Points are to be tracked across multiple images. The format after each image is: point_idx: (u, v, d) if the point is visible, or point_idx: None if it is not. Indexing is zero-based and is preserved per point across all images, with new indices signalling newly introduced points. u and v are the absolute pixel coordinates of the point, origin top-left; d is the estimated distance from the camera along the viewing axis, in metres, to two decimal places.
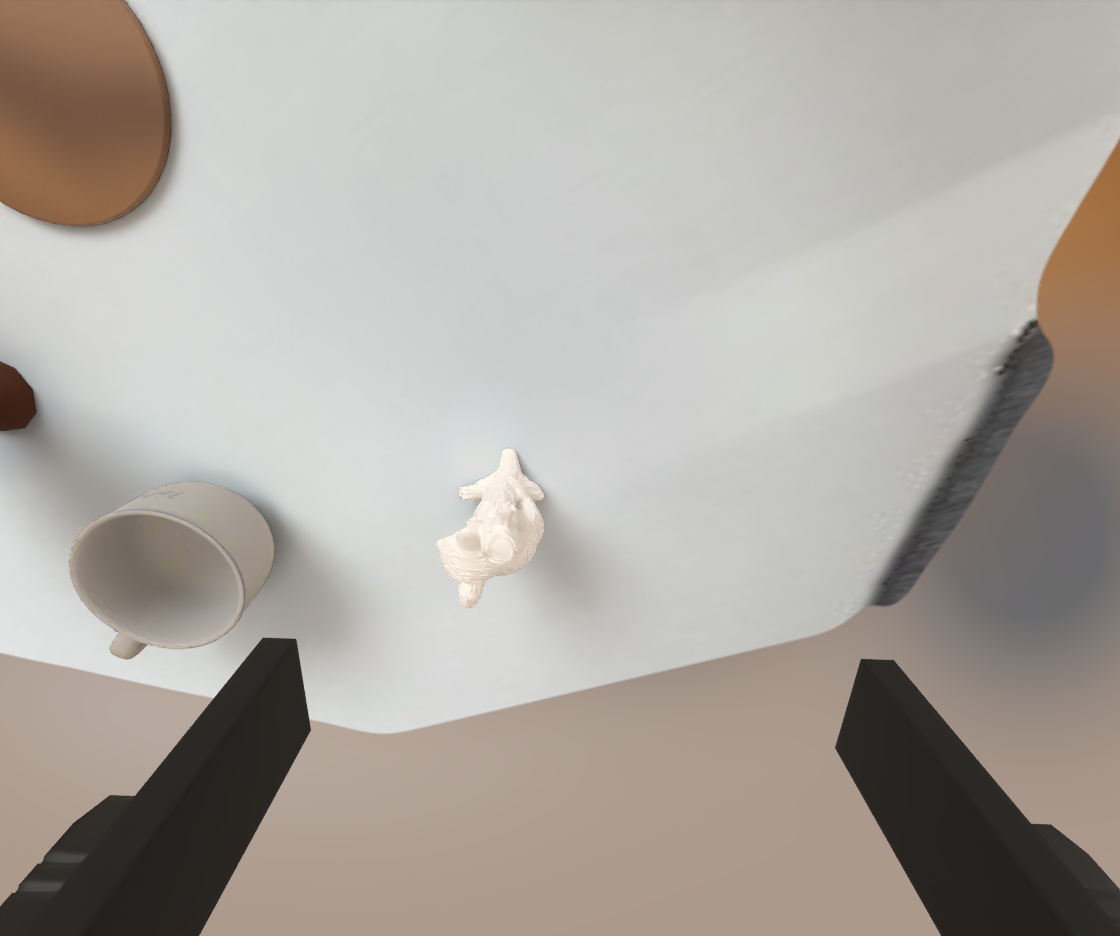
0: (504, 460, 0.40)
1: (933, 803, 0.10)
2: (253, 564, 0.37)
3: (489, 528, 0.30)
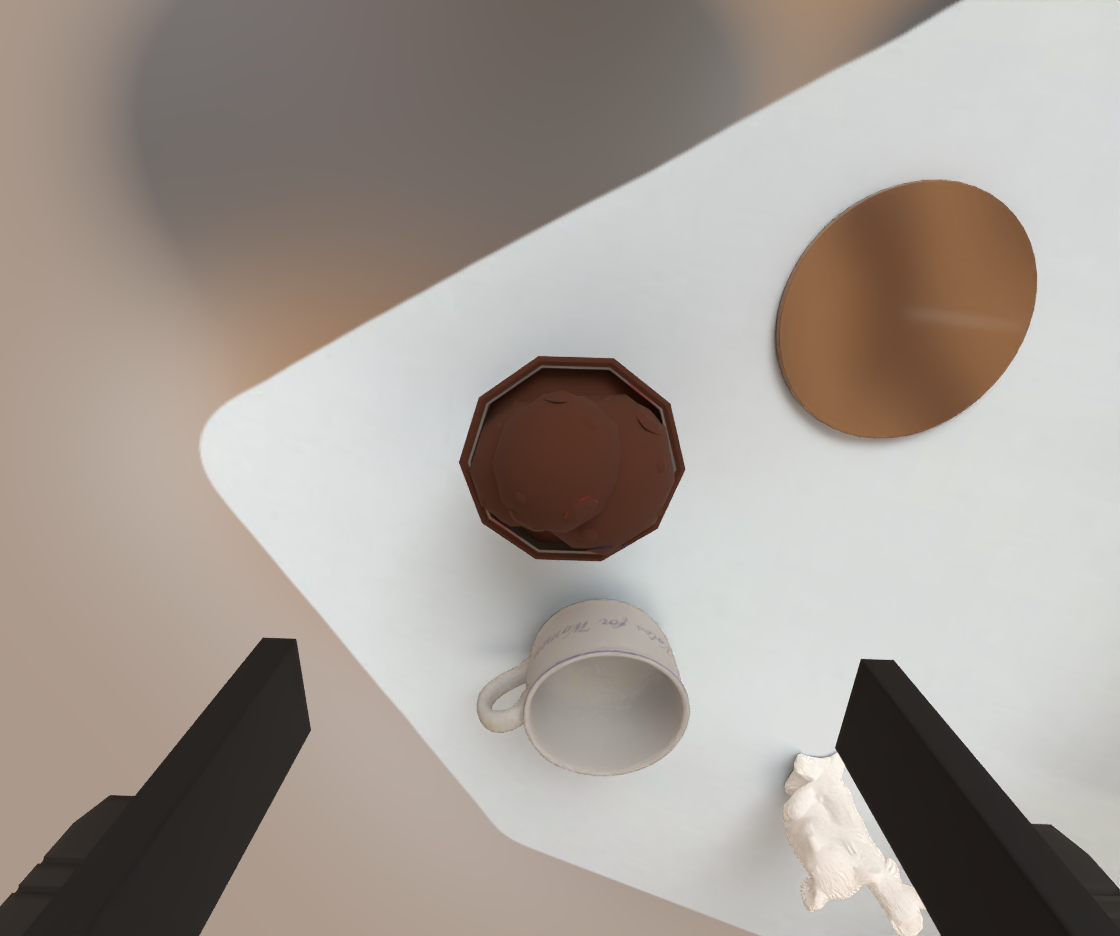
0: (840, 763, 0.45)
1: (933, 803, 0.10)
2: None
3: (906, 899, 0.35)
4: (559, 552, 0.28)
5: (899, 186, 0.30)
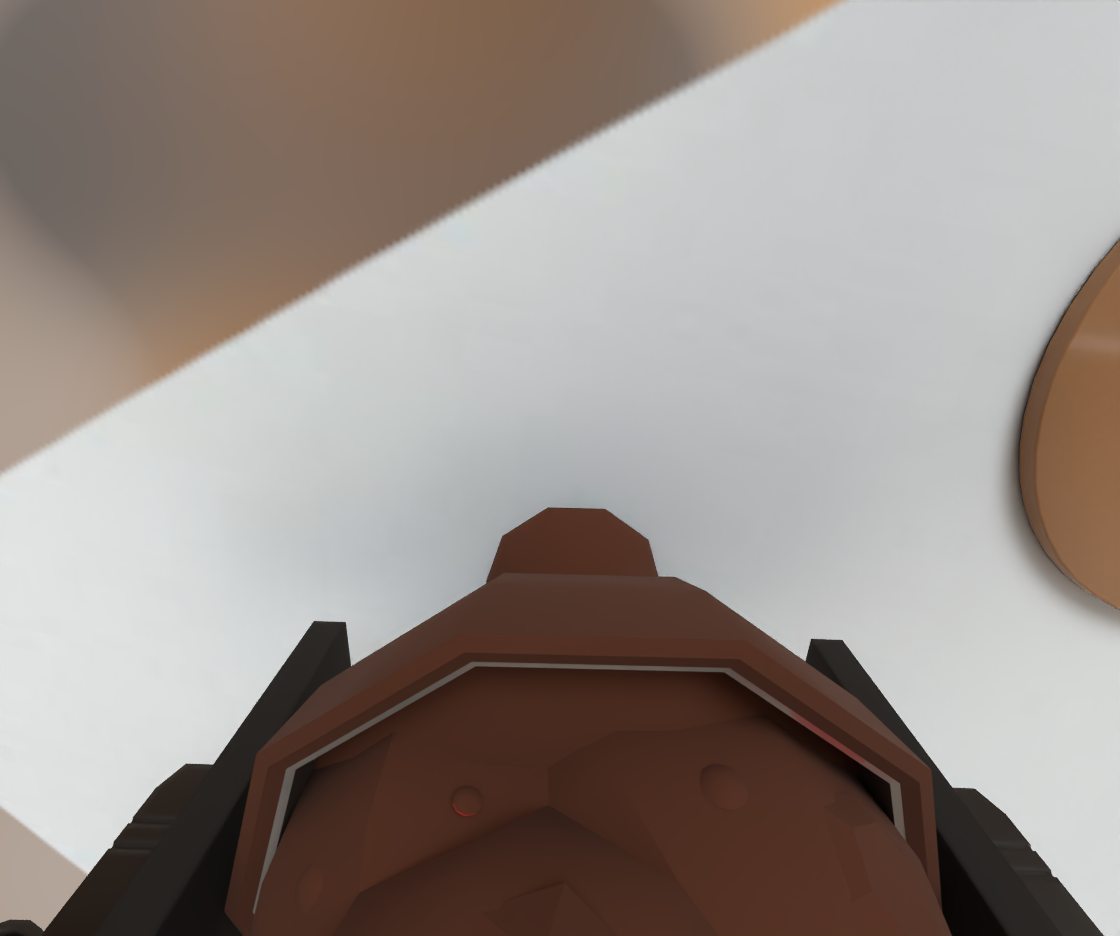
0: None
1: None
2: None
3: None
4: None
5: None
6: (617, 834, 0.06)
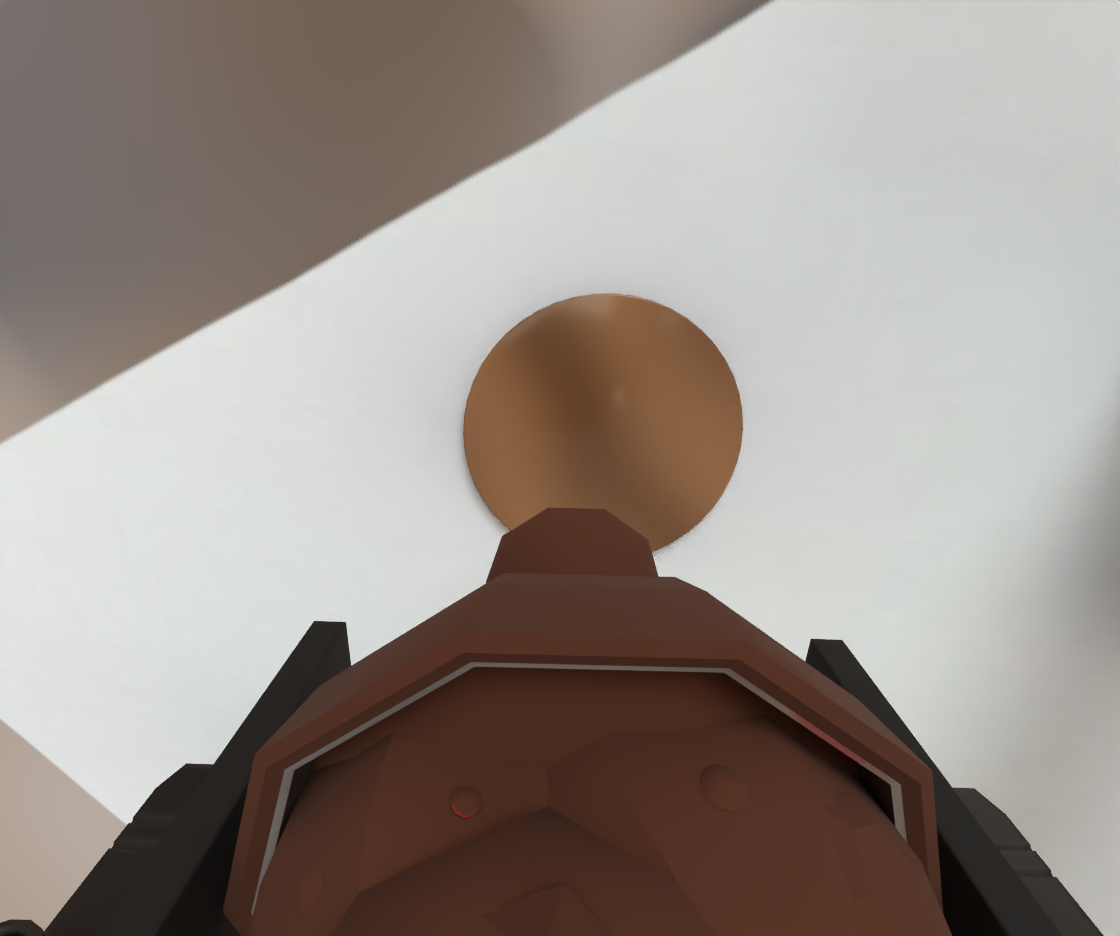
0: None
1: None
2: None
3: None
4: None
5: (567, 301, 0.26)
6: (617, 835, 0.06)
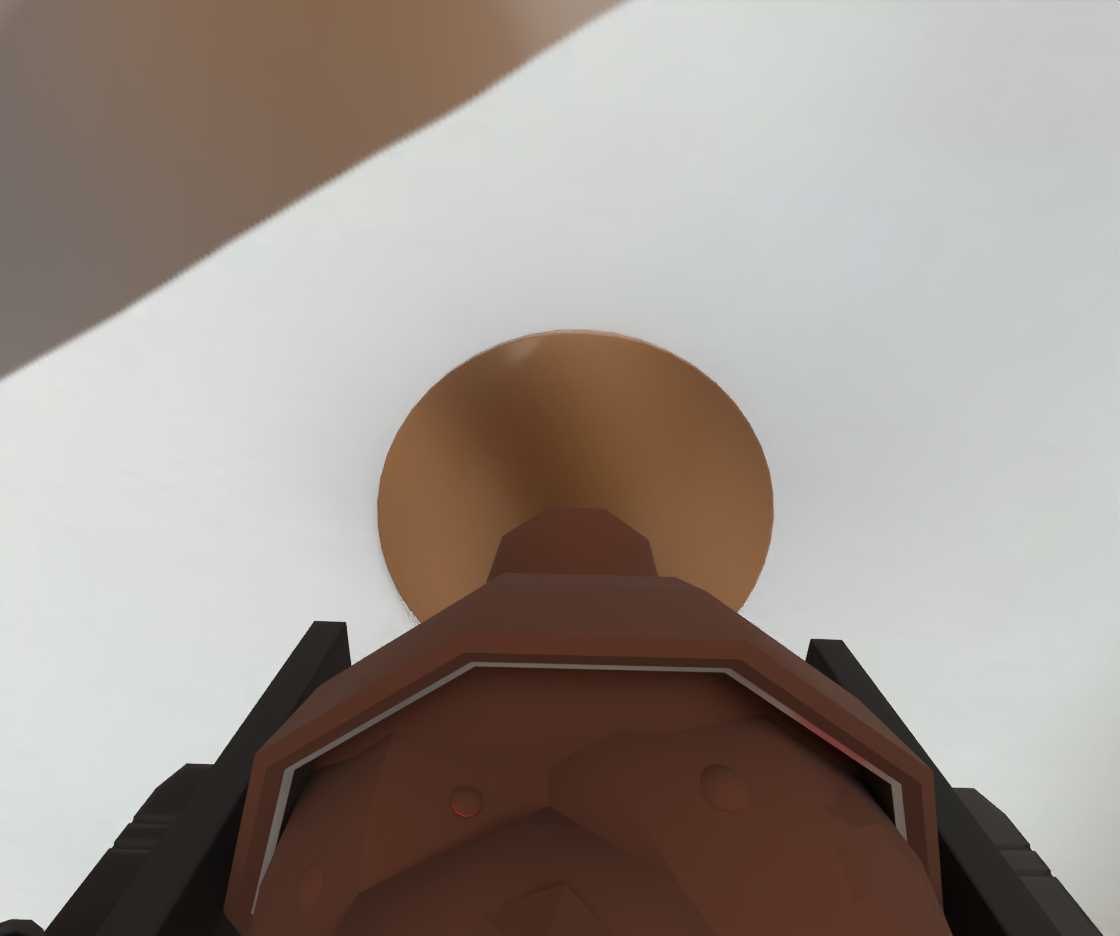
0: None
1: None
2: None
3: None
4: None
5: (517, 342, 0.18)
6: (617, 835, 0.06)
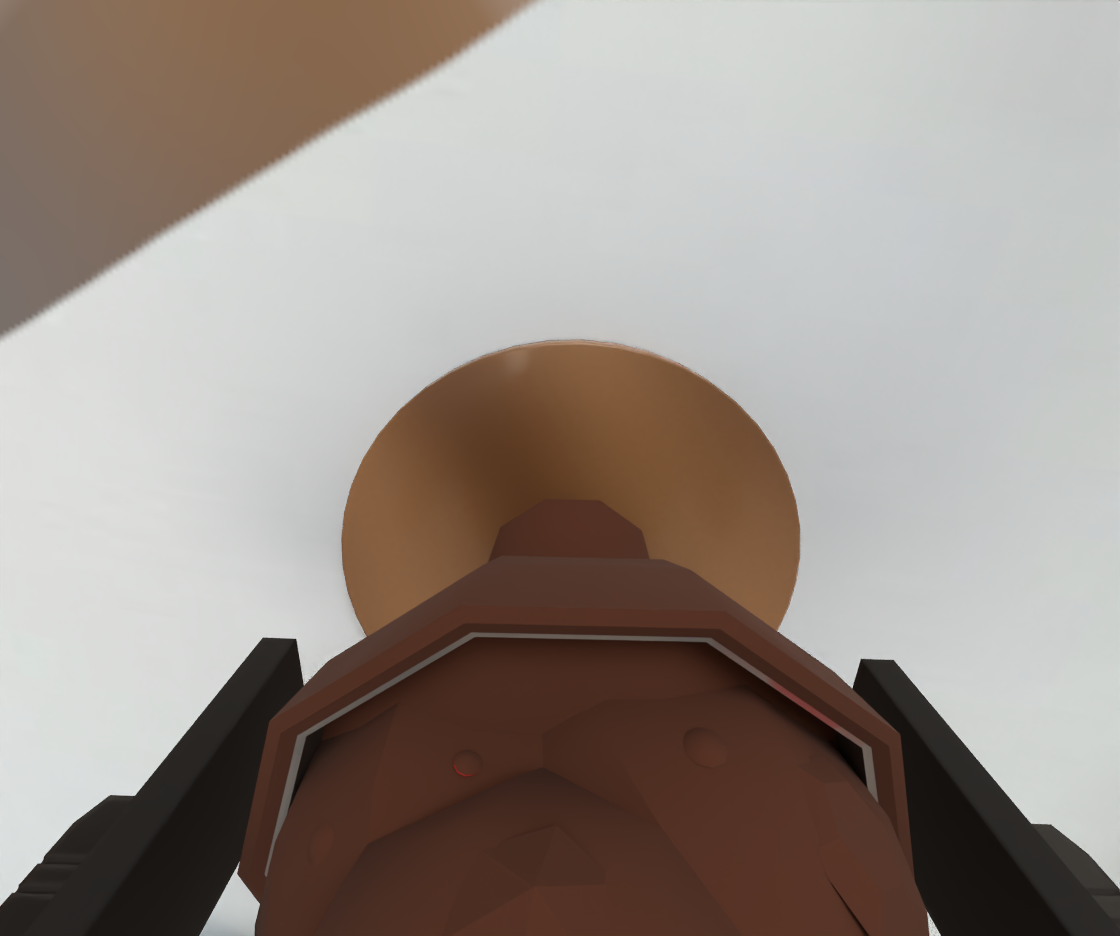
0: None
1: (933, 803, 0.10)
2: None
3: None
4: None
5: (501, 354, 0.15)
6: (606, 789, 0.07)
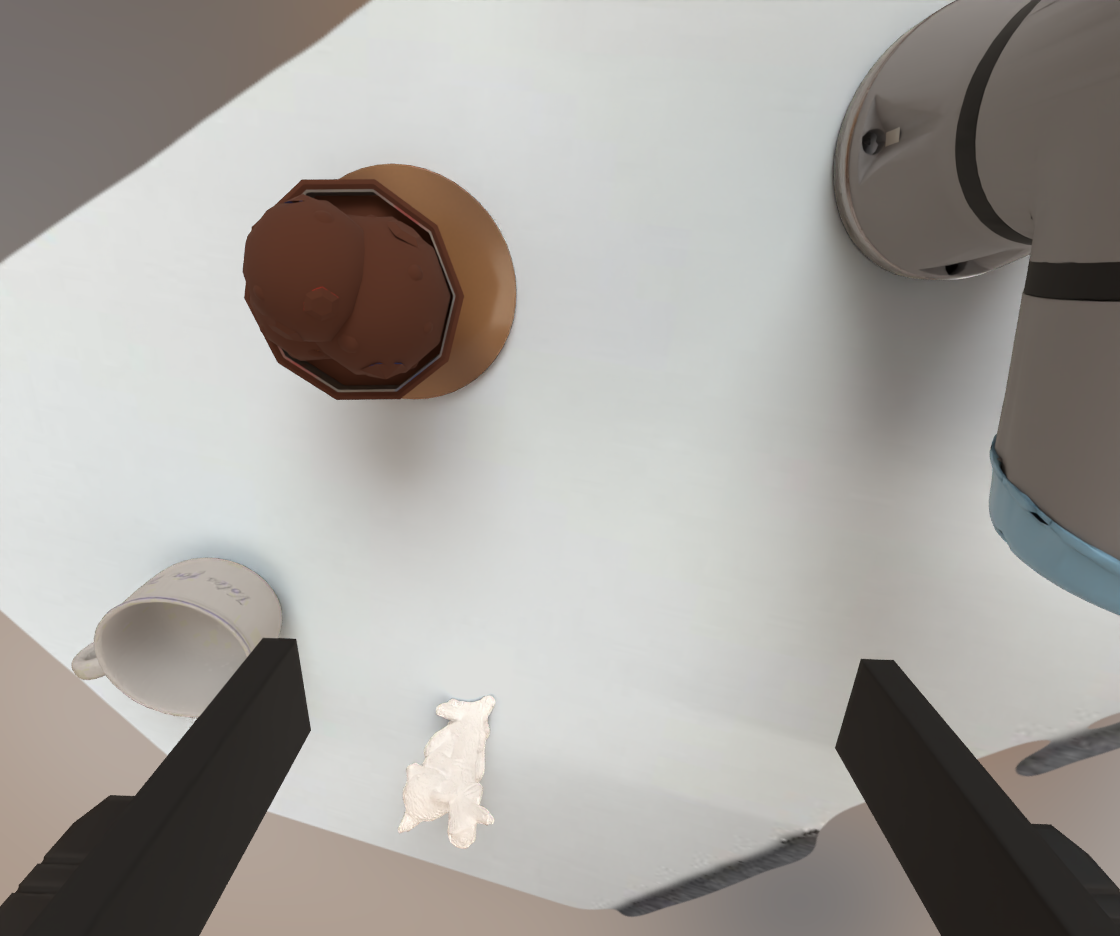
0: (484, 705, 0.48)
1: (933, 803, 0.10)
2: None
3: (464, 815, 0.39)
4: (358, 391, 0.29)
5: (357, 171, 0.34)
6: None
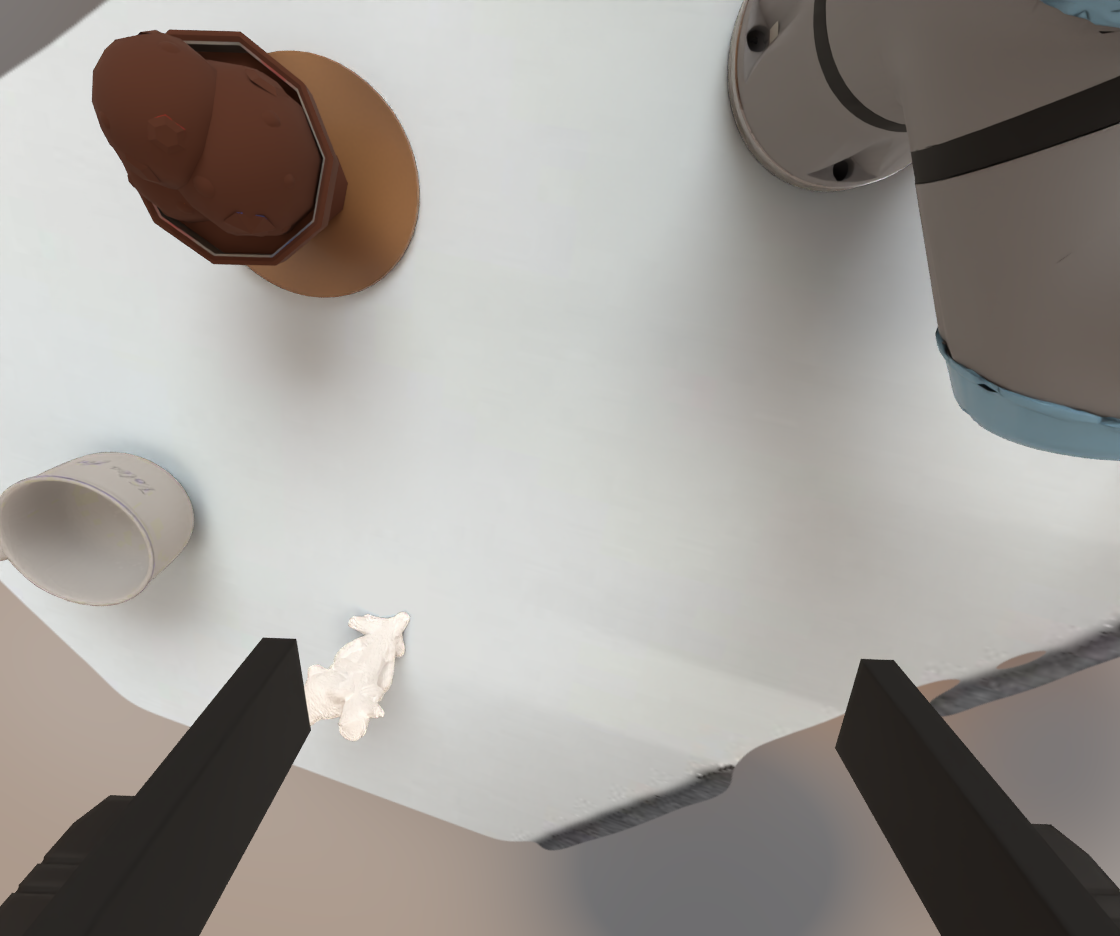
0: (398, 621, 0.49)
1: (933, 803, 0.10)
2: (160, 571, 0.42)
3: (356, 709, 0.40)
4: (235, 256, 0.30)
5: None
6: None
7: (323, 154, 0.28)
